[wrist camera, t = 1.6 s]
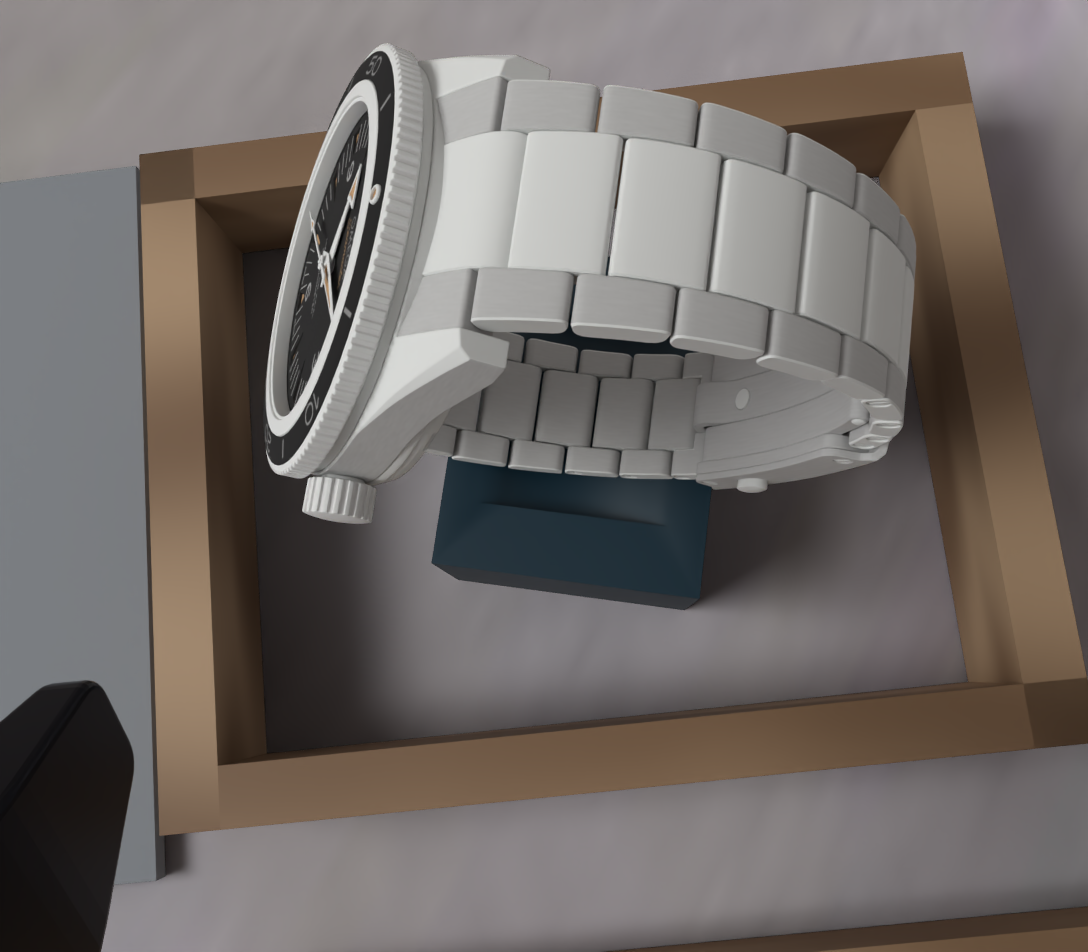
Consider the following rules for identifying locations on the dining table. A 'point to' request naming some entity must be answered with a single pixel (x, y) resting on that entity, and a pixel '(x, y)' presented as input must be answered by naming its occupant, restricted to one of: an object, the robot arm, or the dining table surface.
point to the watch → (578, 319)
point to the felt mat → (79, 465)
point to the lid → (926, 936)
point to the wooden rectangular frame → (637, 741)
